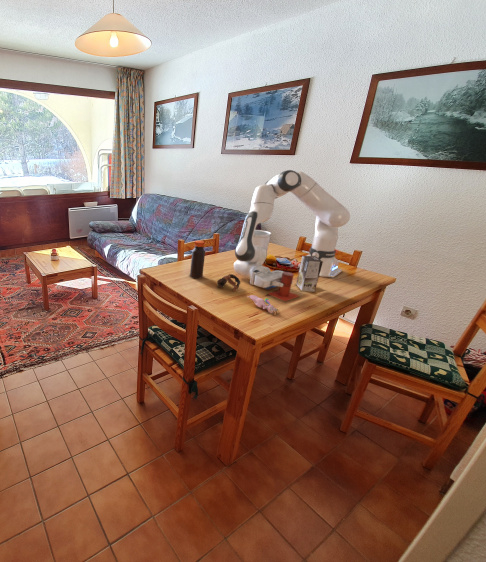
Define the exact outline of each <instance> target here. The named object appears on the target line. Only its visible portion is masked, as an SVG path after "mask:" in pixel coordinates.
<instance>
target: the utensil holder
mask: <svg viewBox="0 0 486 562" xmlns="http://www.w3.org/2000/svg"><path fill="white" fill-rule="evenodd" d="M271 236H272V232H270V231H268V230H261V229H255V233H254V237H253V244H255V245H258V246H261V247H263V248H265V249H266V251H267V252H268V250H269V244H270V239H271Z"/></svg>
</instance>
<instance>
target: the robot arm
mask: <svg viewBox="0 0 486 562" xmlns="http://www.w3.org/2000/svg"><path fill="white" fill-rule="evenodd" d="M288 193H292V194H293V195H294V196H295V197H296V198H297V199H298V200H299V201H300V202H301V203H302V204H303V205H304V206H305V207H306V208H307V209H308V210H310V211H311V212H312V213H313V214H314V215H316V216H315V228H314V235H313V239H312V244H311V246H310V248H309V252H308V254H307V255H306V256H316V257H317V258H319V259H320V260H321V261H323V263H322V267H321V271H320V274H319V277H322V278H323V277H324V278H325V277H327V278H335V277H337V276H338V275H339V274H341V273H342V271H343V270H342V269H341V268H339V264H340V261H339V260H338V258H337V257H336V254H337V253H338V252H339V249H336V246H337V243H338V239H339V228H340V227H343V226H345V225H346V224H348V223H349V222H350V219H351V214H350V212H349V210H348V209H347V208H346V207H345V206H344V205H343V204H342V203H341V202H340V201H338V200H337V199H336V198H335V197H333V195H331V194H330V193H328V192H327V191H326V189H324V188H323V187H322V186H321V185H320V184H319V183H318V181H315V179H313V178H312V177H311V176H309V174H307V173H305V172H303V171H295V170H292V169H287V170H284V171H282V172H280V173H278V174H276V175H274V176H273V177H271V179H269V180H267V181H266V182H265V183H264V184H260V185H258V186H256V187H255V189H254V191H253V194H252V197H251V202H250V208H249V212H248V213H247V214H246V216H245V218H244V221H243V225H242V228H241V232H240V237H239V239H238V242H237V244H236V247H235V249H234V256H235V258H236V259H237V260H235V262H234V263H233V271H234V272H235V273H236V274H237V275H238V276H240V277H243V278H245V279H249V284H250V285H252V286H256V287H259V288H263V289H265V288H266V287H269V286H277V287H279V286H280V287H284V285H285V284H284V283H282V282H280V281H281V277H282V273H283V272H284V271H283V270H277V269H276V270H272V271H271V269H270V268H269V267H267V266H264V263H265V261H266V260H267V257H268V250H267V251H266V249H265V248H263V247H261V246H258V245H255V244H253V237H254V233H255V230H257V227H258V225H259V224H262V223H265V222H267V221H269V220H270V219H271V218H272V215H273V212H274V207H275V199H278V198H280V197H283V196H286V195H287V194H288ZM292 283H293V280H292Z"/></svg>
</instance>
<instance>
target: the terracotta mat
mask: <svg viewBox="0 0 486 562" xmlns="http://www.w3.org/2000/svg"><path fill="white" fill-rule="evenodd" d="M268 295H269V296H271V297H274V298H277V299H279V300H281V301H284V302H287V301H290V300H292V299H295V298H297V297H299V295H297V294H296V293H293V292H290V293H289V296H288V297H282V296H279V295H278V290H276V291H275V290H274V291H272V292H269V293H268Z"/></svg>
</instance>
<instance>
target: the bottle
mask: <svg viewBox="0 0 486 562" xmlns="http://www.w3.org/2000/svg"><path fill="white" fill-rule="evenodd" d="M205 256H206V250H205V241H203V240H195V241H194V248H193V249H192V250H191V262H190V269H189V270H190V271H189V277H190V278H192V279H202V278H203V275H204V265H205V258H206V257H205Z"/></svg>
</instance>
